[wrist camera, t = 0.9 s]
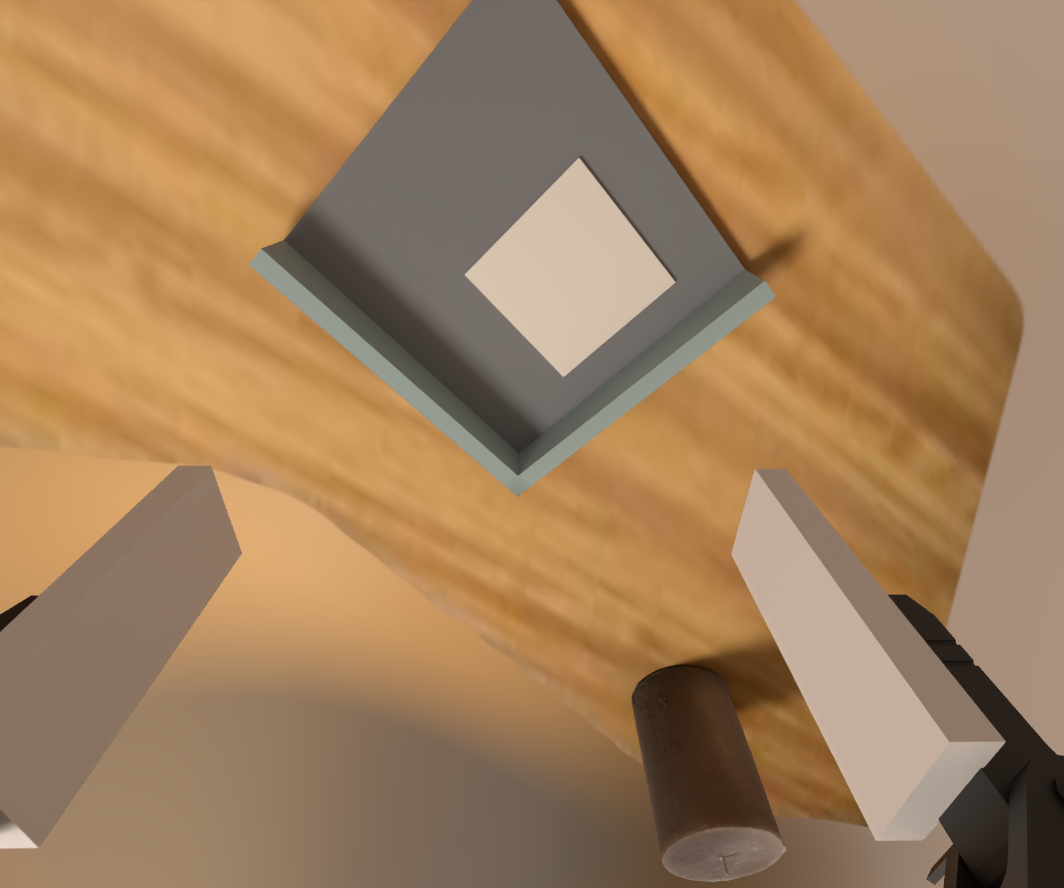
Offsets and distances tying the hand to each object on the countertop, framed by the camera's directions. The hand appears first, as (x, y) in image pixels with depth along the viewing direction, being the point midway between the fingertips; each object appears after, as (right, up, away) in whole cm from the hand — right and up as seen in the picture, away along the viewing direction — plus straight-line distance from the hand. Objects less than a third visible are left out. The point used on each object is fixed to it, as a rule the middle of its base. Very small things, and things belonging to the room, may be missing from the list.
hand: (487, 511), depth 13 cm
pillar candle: (+16, -24, +40) cm, 49 cm away
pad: (+3, +12, +19) cm, 23 cm away
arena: (0, +12, +19) cm, 22 cm away
